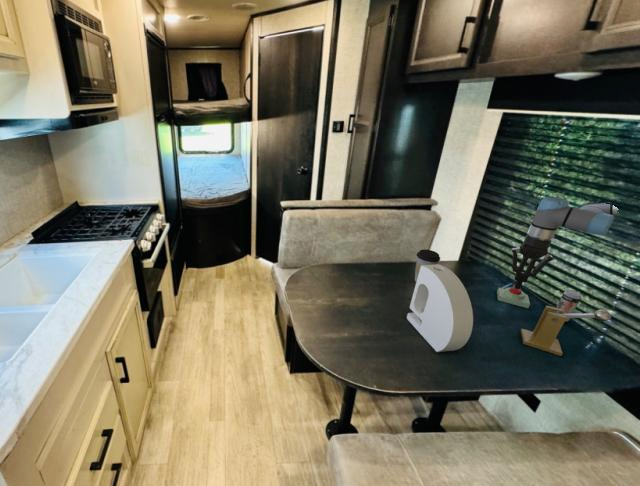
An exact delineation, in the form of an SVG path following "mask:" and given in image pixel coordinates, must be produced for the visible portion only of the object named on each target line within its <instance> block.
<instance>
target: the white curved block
mask: <svg viewBox="0 0 640 486" xmlns="http://www.w3.org/2000/svg"><path fill="white" fill-rule="evenodd" d="M409 309H410V310H411V311H412V312H408V313H407V314H406V319H407V321H408V322H409V323H410V324H411V325H412V326H413V327H414V328H415V330H416V331H417V332H418V333H419V334H420V336H422V337H423V339H424V340H425V341H426V342H427V343H428V344H429V345H430V347H432V349H433V350H434V351H435V352H436V353H441V352H452V351H458V350H460V349H462V348H463V347H464V346H465V345H466V344H467V343H468V341H469V340H470V337H471V335H472V331H473V327H474V313H473V312H474V311H473V307H472V302H471V299H470V296H469V293H468V291H467V289H466V287H465V286H464V284H463V282H462V281H461V280H460V278H459V277H458V275H456V274H455V273H454V272H453V271H452V270H450V269H449V268H447V266H444V265H442V264H439V263H437V264H436V265H421V267H420V271H419V275H418V278H417V282H415V286H414V290H413V294H412V297H411V300H410V304H409Z"/></svg>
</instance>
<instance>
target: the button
mask: <svg viewBox="0 0 640 486" xmlns="http://www.w3.org/2000/svg"><path fill="white" fill-rule="evenodd" d="M510 288H511V289H510V292H511V293H513V294H517V295H520V294H521V292H523V290H522V289H521V288H520V289H515V286H512V287H510Z"/></svg>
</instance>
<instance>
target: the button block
mask: <svg viewBox="0 0 640 486" xmlns="http://www.w3.org/2000/svg"><path fill="white" fill-rule="evenodd" d="M510 289H511V287H505V288H503V287H498V288H497V290H496V295H497V296H496V297H497V301H499V302H503V303H507V304H510V305H514V306H518V307H521V308H525V309H529V307H530V305H531V302H530V297H529V295H528V294H526V293H525V292H524V291H522V292H521V294H520V295H517V294H513V293H511V292H510Z"/></svg>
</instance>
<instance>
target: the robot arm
mask: <svg viewBox="0 0 640 486" xmlns="http://www.w3.org/2000/svg"><path fill="white" fill-rule="evenodd" d="M591 202H592V201H589V202H586V203H587V204H586V203H584V204H583V205H581V206H580V207H579V208H577V207H574V206H573V207H572V206H569V205H570V201H569V200H568V199H565V198H561V197H554V196H548V197H544V198H542V199H541V201H540V203H539V205H538V207H537V208H536V211H535V214H534V216H533V218H532V221H531V223H530V226H529V228H528V231H527V234H526V235H525V238H524V239H523V242H522V244H520V245H519V247H512V248H511V253H512V263H511V264H512V265H511V269H512V272H514V273H515V274H514V281H515V283H514V286H513V287H515V289H521V288H522V286H523V283H527V282H528V279H529V278H530V277H537V275H538V274H539V273H540V272H541V271H542V270H543V269H544V268H545V267H546V265H547V264H548V263H551V262H552V261H554V256H553V255H552V254H549V251H548V250H549V248H550V245H551V244H552V240H553V239H554V237H555V234H556V232H557V230H558V228H559V227H562V228H566V229H570V230H574V231H579V232H583V233H587V234H591V235H598V236H605V235H606V234H607V233H608V231H609V229H610V227H611V226H612V224H613V223H612V222H613V220H614V219H615V218H616V217H618V216H617V215H618V214H617V213H619V212H617V211H618V210H619V209H618V208H617V207H615V206H614V205H610V204H606V203H607V202H601V203H591ZM519 253H521V255H522V258H521V261H520V263H519V265H518V254H519ZM541 258H542V259H541ZM529 259H530V260H529ZM539 259H541V260H540V262H539V263H538V264H536V263H537V262H538V260H539ZM528 261H529V263H528ZM527 263H528V265H527ZM526 265H527V267H526ZM535 265H536V266H535ZM525 267H526V269H525ZM524 269H525V270H524ZM524 271H525V272H524Z"/></svg>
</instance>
